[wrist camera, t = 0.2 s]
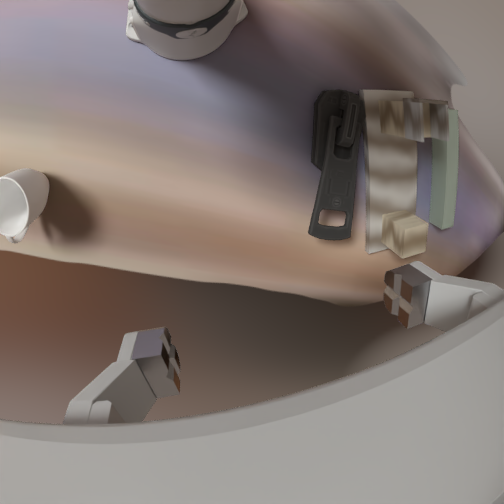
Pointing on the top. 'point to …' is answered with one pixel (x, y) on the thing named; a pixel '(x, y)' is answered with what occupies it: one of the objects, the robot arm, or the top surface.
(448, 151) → the rail
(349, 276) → the top surface
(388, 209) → the rail posts
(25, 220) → the mug
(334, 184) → the zipper pull
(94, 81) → the top surface
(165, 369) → the robot arm
